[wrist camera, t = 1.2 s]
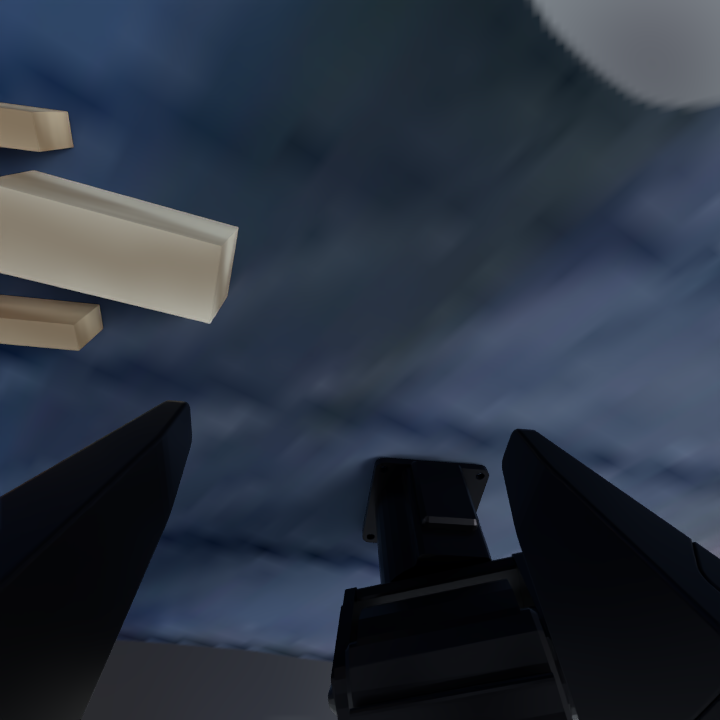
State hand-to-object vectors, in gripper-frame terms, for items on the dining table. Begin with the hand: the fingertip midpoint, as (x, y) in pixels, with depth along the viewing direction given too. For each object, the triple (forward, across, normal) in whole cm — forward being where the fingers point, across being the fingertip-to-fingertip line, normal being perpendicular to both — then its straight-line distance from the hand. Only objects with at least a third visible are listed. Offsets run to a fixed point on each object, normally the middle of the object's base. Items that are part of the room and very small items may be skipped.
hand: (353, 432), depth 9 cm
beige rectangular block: (+12, +9, 0) cm, 15 cm away
